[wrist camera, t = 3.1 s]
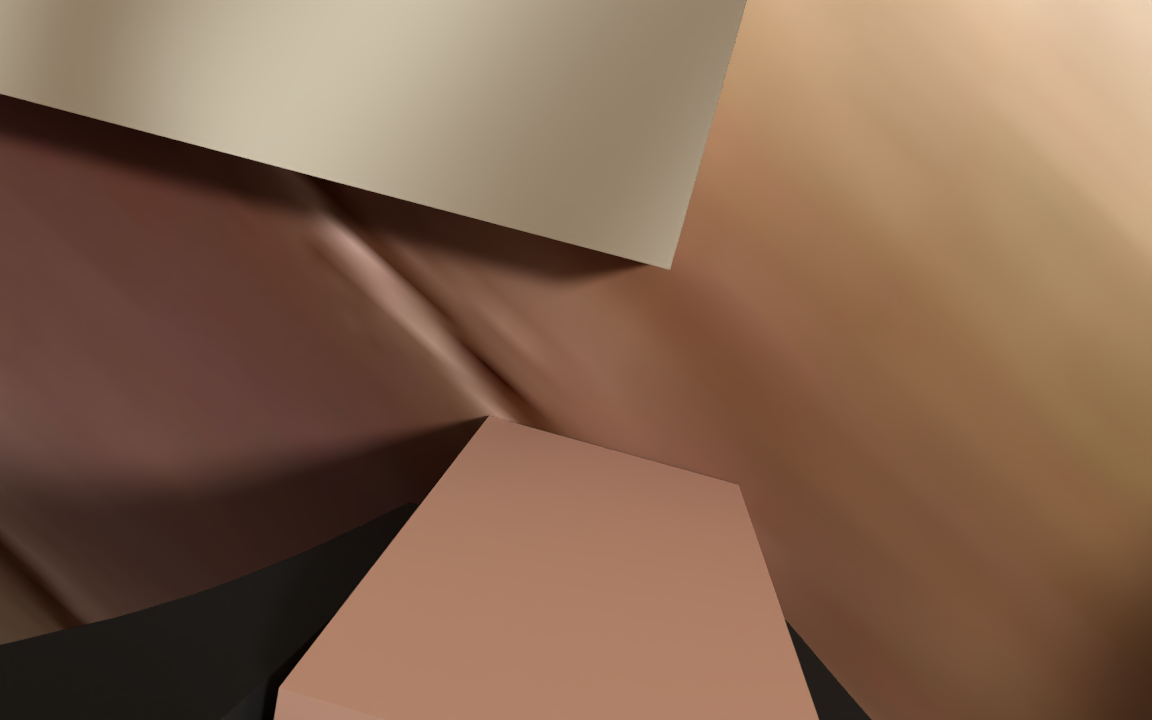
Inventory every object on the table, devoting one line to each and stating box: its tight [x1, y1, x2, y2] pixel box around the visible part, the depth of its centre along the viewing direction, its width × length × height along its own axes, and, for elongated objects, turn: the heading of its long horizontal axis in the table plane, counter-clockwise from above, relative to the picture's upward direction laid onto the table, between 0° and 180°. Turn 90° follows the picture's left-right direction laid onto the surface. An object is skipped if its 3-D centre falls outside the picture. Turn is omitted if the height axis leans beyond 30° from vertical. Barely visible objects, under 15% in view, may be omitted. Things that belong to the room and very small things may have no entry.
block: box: [274, 416, 819, 720], centre depth 8 cm, size 4×4×6 cm
